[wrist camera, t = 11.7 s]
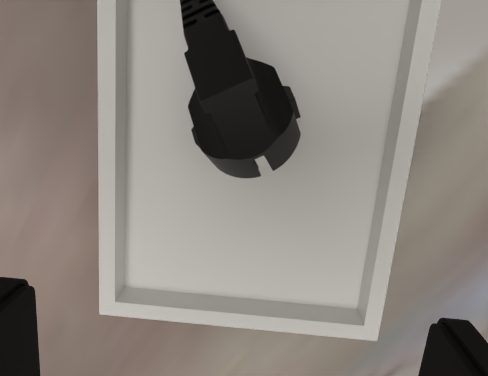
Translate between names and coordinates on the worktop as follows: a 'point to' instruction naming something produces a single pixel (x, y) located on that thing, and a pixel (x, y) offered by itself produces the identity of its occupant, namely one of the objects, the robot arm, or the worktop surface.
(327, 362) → the worktop surface
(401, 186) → the tray
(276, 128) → the power plug
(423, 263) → the worktop surface
